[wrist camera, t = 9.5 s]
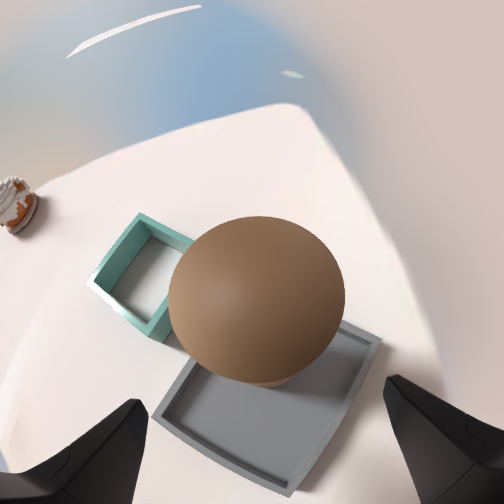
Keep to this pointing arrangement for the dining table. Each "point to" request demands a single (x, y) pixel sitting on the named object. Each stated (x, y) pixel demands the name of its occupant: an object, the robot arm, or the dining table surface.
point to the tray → (269, 412)
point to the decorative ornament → (15, 203)
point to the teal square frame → (122, 258)
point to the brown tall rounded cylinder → (256, 300)
